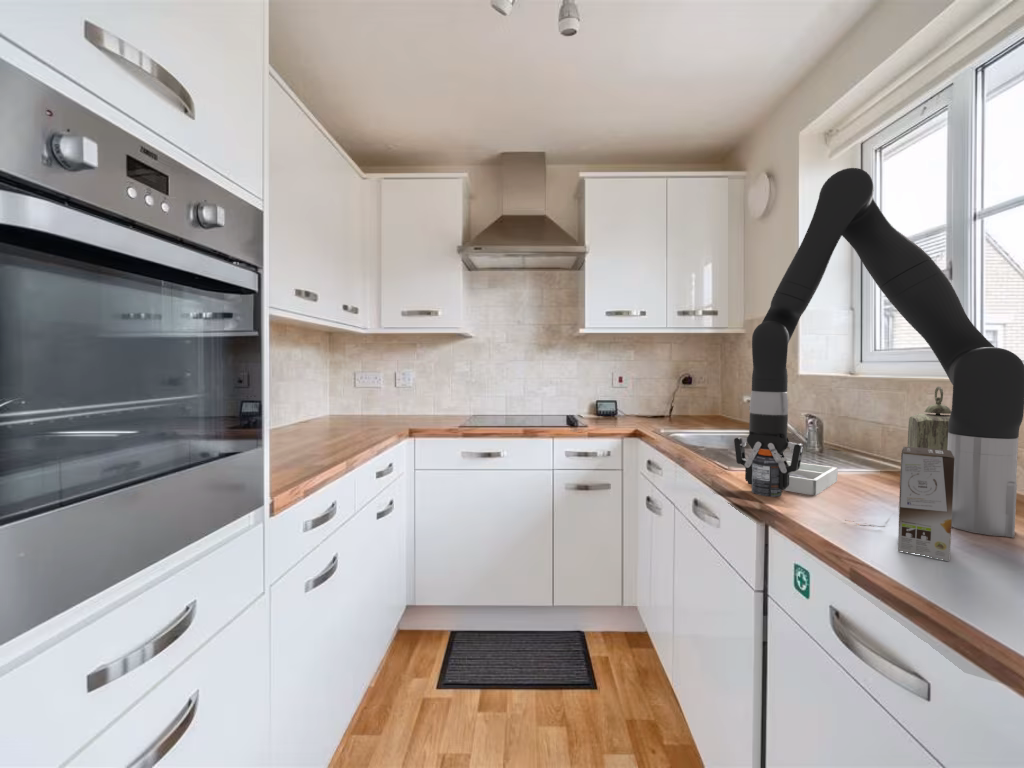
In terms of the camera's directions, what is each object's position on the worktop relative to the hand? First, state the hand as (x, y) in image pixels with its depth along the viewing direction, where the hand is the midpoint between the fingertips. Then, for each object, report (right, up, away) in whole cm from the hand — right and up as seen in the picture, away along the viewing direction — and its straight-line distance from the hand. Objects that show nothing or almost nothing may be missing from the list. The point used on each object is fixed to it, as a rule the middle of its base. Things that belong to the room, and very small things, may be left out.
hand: (766, 486), depth 108 cm
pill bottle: (0, -3, 0) cm, 3 cm away
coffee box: (+10, -4, -30) cm, 31 cm away
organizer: (+13, -2, +10) cm, 16 cm away
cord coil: (+9, -1, +6) cm, 11 cm away
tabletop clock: (+51, -3, +15) cm, 53 cm away
